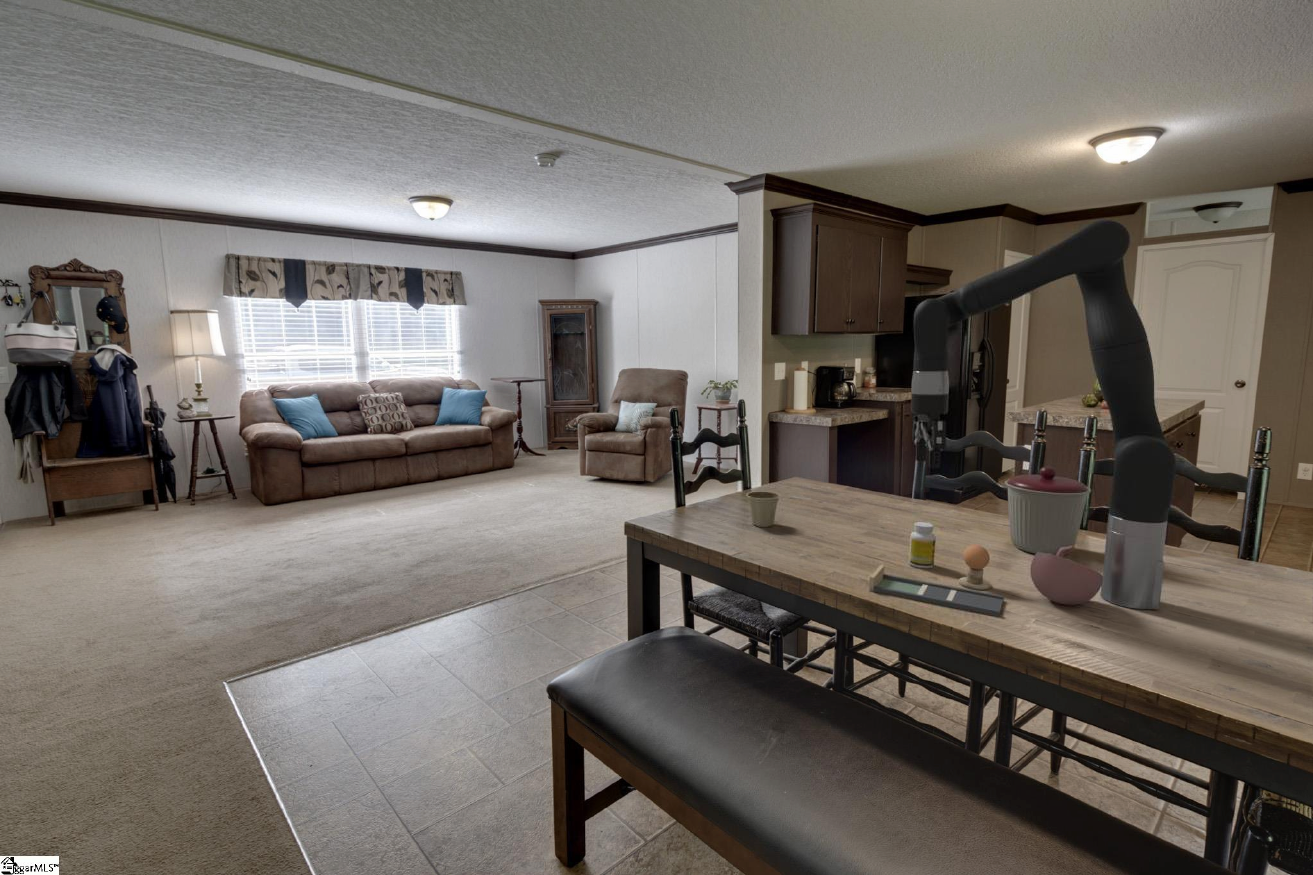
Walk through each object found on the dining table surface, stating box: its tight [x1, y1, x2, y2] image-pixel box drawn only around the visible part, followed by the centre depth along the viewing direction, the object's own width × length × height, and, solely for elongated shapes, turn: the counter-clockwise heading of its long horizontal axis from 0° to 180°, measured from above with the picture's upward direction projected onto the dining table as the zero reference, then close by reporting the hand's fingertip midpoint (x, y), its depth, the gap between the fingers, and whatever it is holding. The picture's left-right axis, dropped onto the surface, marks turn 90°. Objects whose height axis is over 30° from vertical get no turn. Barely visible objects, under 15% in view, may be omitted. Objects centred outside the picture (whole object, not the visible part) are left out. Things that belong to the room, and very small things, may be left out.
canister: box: [1004, 466, 1092, 556], centre depth 158 cm, size 18×18×21 cm
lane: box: [868, 564, 1005, 618], centre depth 130 cm, size 24×9×3 cm, turn 57°
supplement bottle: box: [908, 521, 937, 569], centre depth 148 cm, size 5×5×10 cm
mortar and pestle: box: [1029, 546, 1103, 606], centre depth 126 cm, size 12×12×11 cm
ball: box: [962, 544, 991, 569], centre depth 136 cm, size 5×5×5 cm
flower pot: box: [746, 490, 781, 528], centre depth 182 cm, size 9×9×9 cm
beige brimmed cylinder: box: [958, 566, 991, 591], centre depth 136 cm, size 6×6×4 cm
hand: (927, 464), depth 143 cm, fingers open, 8 cm apart
